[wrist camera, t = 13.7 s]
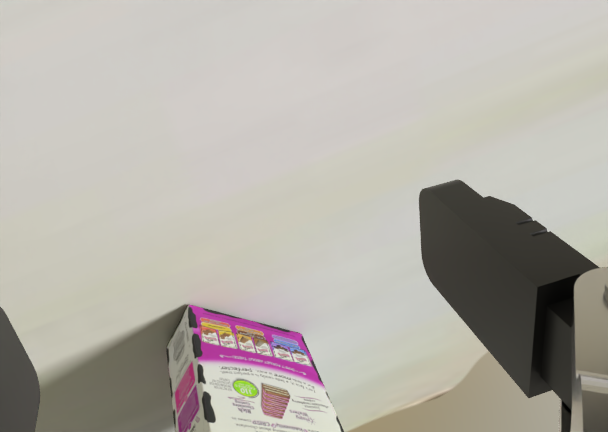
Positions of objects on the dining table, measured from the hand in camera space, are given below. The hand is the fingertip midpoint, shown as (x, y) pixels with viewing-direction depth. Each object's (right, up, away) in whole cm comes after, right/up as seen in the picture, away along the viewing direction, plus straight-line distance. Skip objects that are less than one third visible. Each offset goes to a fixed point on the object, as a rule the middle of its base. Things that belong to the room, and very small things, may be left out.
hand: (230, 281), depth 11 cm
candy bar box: (-4, -9, +38) cm, 39 cm away
